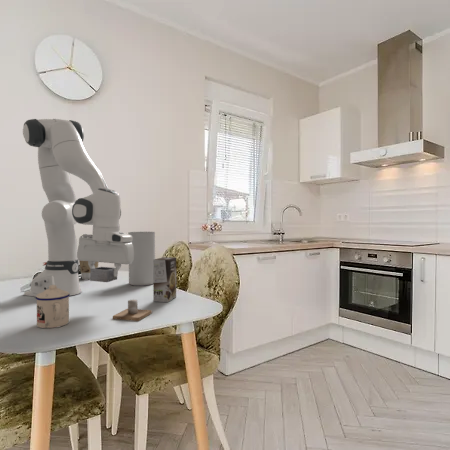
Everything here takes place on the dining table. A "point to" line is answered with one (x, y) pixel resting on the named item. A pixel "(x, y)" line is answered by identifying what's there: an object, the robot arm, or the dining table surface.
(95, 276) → the steel collar
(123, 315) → the stand
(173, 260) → the coffee box
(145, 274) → the cylinder vase
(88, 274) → the coffee cup
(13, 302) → the dining table surface
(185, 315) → the dining table surface
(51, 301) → the teacup with lid
